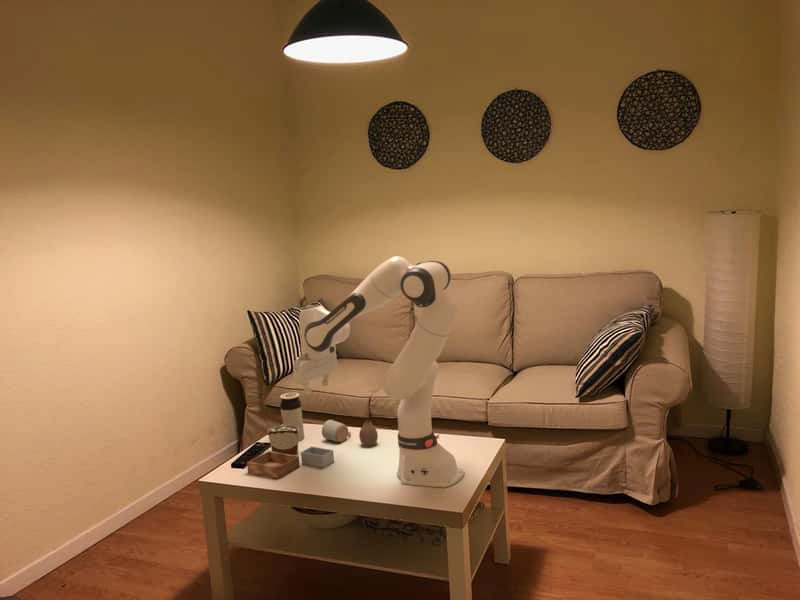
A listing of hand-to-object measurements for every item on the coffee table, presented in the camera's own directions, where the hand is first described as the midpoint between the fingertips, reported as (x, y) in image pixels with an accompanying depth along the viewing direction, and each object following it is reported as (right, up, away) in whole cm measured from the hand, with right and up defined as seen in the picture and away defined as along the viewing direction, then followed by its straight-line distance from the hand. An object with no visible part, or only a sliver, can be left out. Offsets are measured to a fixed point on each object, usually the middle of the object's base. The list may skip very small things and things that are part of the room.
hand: (316, 389), depth 242 cm
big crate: (-15, -28, 0) cm, 32 cm away
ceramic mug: (+5, -23, +27) cm, 36 cm away
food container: (-13, -26, +17) cm, 33 cm away
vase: (+18, -23, +18) cm, 35 cm away
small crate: (0, -27, +4) cm, 27 cm away
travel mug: (-13, -24, +30) cm, 41 cm away
